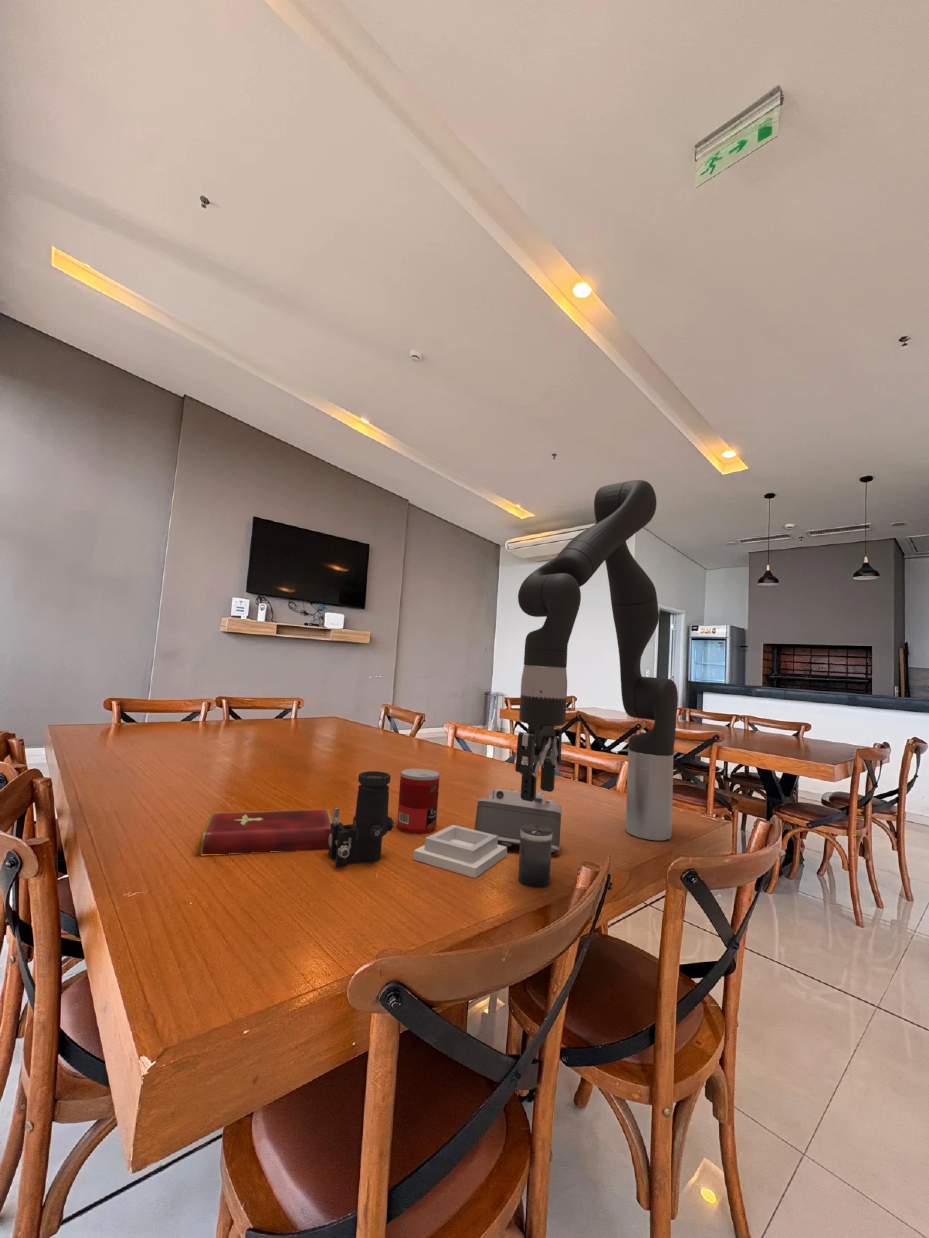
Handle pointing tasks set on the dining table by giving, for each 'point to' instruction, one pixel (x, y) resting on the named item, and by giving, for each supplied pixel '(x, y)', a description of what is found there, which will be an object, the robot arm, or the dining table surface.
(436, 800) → the canned food
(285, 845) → the hardcover book
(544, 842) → the lens
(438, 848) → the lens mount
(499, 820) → the camera
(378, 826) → the scope
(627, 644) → the robot arm
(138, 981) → the dining table surface
